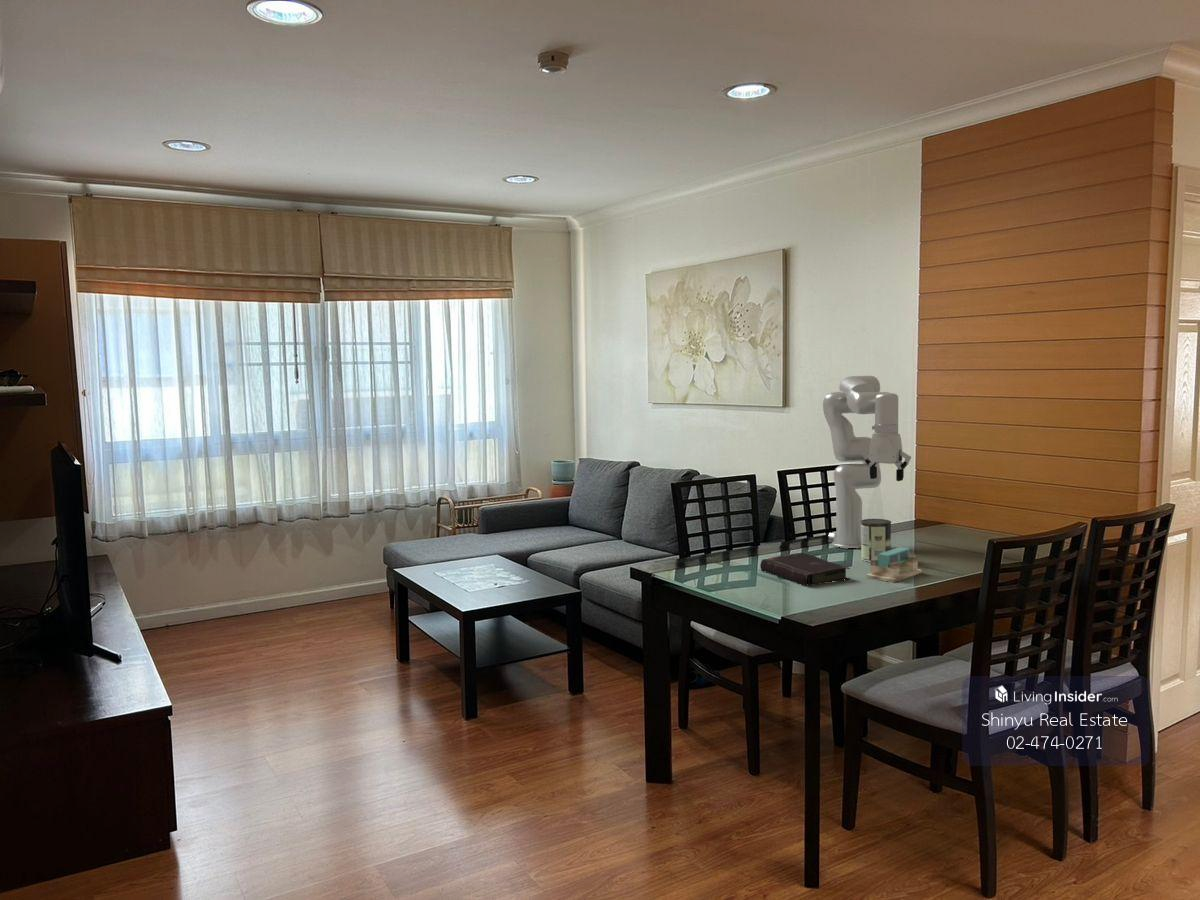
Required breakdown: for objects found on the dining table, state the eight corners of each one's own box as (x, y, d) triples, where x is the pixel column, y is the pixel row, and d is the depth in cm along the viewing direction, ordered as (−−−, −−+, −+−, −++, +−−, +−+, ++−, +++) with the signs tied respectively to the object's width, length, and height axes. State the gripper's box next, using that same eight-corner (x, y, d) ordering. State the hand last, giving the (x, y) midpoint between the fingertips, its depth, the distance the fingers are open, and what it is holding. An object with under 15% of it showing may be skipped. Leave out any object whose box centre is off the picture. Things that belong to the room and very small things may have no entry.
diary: (805, 589, 273) (805, 573, 272) (760, 573, 296) (759, 558, 295) (852, 581, 280) (851, 565, 280) (804, 565, 303) (804, 551, 302)
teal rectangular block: (878, 566, 281) (878, 554, 280) (899, 558, 290) (899, 547, 290) (888, 567, 278) (888, 555, 278) (909, 560, 287) (909, 548, 287)
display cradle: (866, 577, 282) (866, 560, 281) (894, 568, 294) (894, 551, 293) (894, 582, 275) (894, 564, 274) (921, 572, 287) (922, 555, 286)
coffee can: (879, 555, 313) (879, 517, 312) (897, 561, 303) (897, 522, 302) (854, 558, 310) (854, 519, 309) (872, 564, 300) (872, 524, 299)
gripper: (857, 429, 296) (857, 478, 297) (904, 431, 283) (904, 482, 284) (869, 428, 301) (869, 476, 302) (916, 429, 288) (915, 480, 289)
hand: (886, 479), depth 293 cm, fingers open, 9 cm apart
